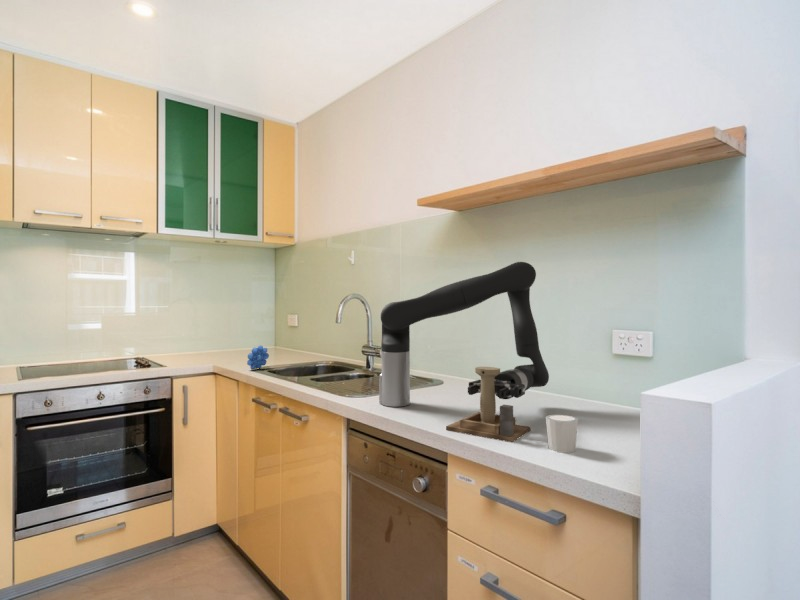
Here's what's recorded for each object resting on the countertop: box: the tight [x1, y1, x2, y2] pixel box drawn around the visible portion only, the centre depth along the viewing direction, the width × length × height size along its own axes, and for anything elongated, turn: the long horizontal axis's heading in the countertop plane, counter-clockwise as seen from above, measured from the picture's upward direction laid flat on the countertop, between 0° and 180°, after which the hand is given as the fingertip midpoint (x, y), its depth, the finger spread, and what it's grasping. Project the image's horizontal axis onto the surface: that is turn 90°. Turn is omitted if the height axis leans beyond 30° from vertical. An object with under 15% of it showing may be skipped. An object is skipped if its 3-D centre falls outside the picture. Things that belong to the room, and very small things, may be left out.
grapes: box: [246, 345, 270, 370], centre depth 230 cm, size 12×7×12 cm, turn 136°
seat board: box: [445, 404, 531, 443], centre depth 118 cm, size 18×12×8 cm, turn 54°
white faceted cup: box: [545, 414, 579, 454], centre depth 103 cm, size 7×7×7 cm
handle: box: [474, 366, 501, 424], centre depth 119 cm, size 5×6×15 cm
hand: (484, 392), depth 117 cm, fingers open, 8 cm apart
